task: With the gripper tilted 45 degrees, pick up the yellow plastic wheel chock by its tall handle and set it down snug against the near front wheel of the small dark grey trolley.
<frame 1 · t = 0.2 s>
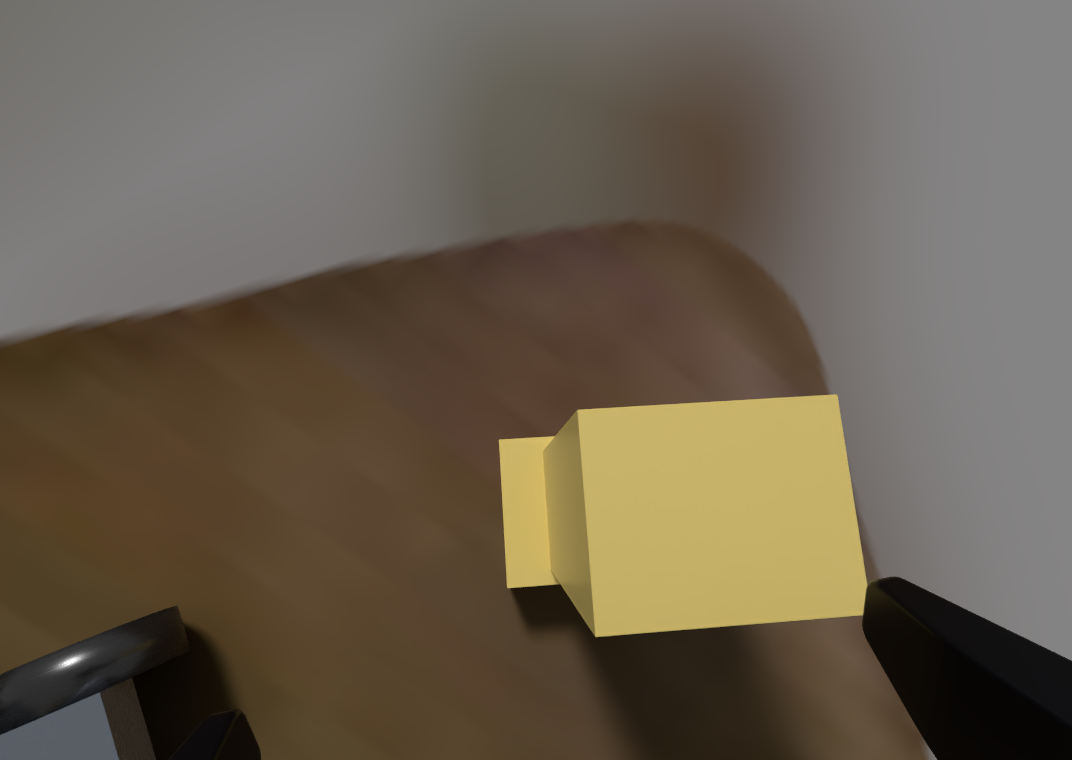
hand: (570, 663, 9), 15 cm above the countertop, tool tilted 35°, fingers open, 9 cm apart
chock: (608, 503, 24), on the countertop
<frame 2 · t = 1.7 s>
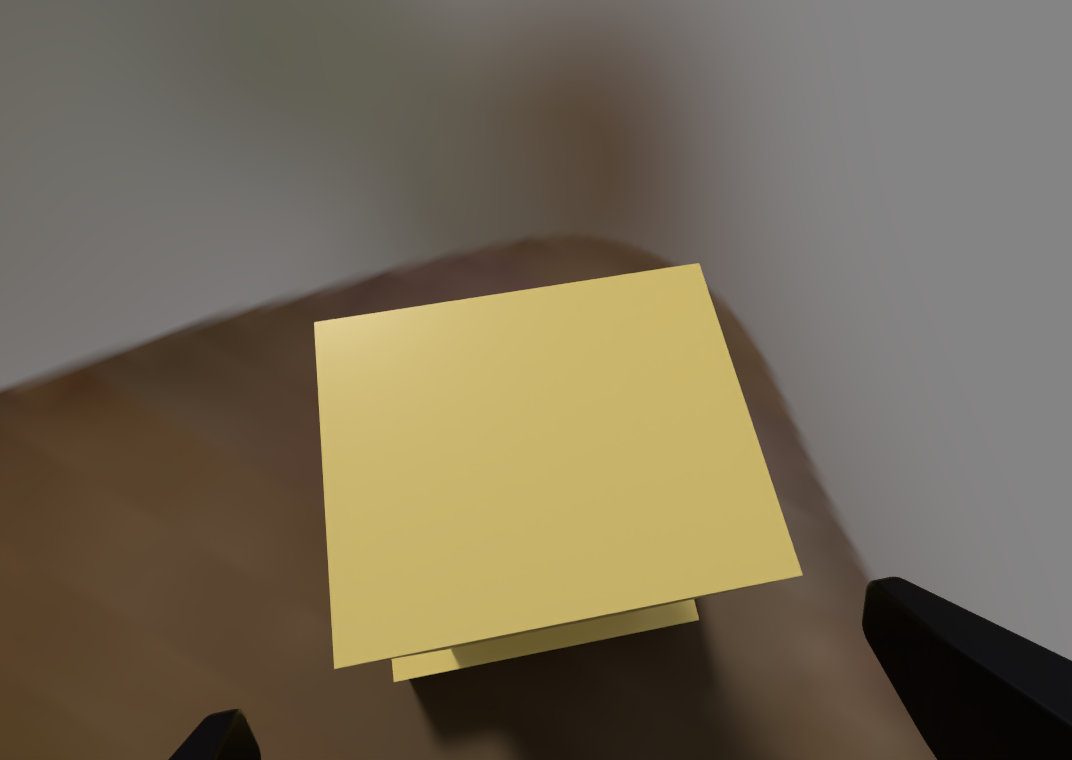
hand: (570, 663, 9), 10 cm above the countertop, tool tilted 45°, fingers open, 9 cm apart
chock: (531, 560, 19), on the countertop
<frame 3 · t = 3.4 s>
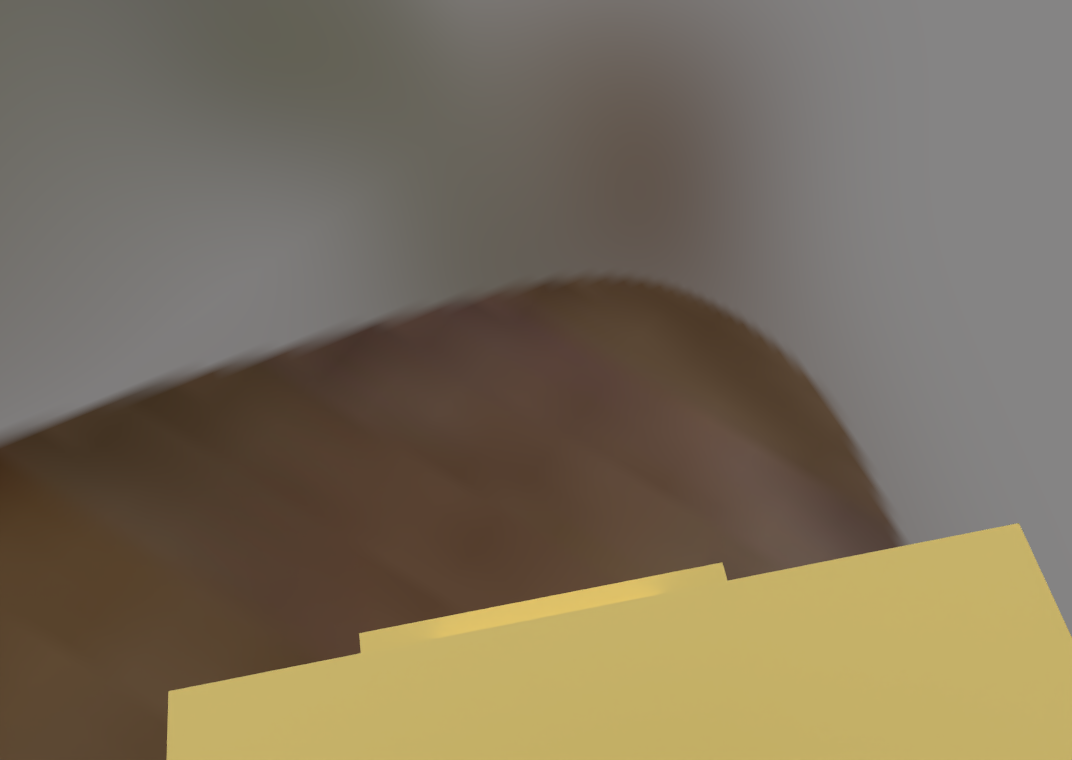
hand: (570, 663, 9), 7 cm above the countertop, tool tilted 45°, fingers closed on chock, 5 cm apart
chock: (562, 713, 14), on the countertop, touching gripper
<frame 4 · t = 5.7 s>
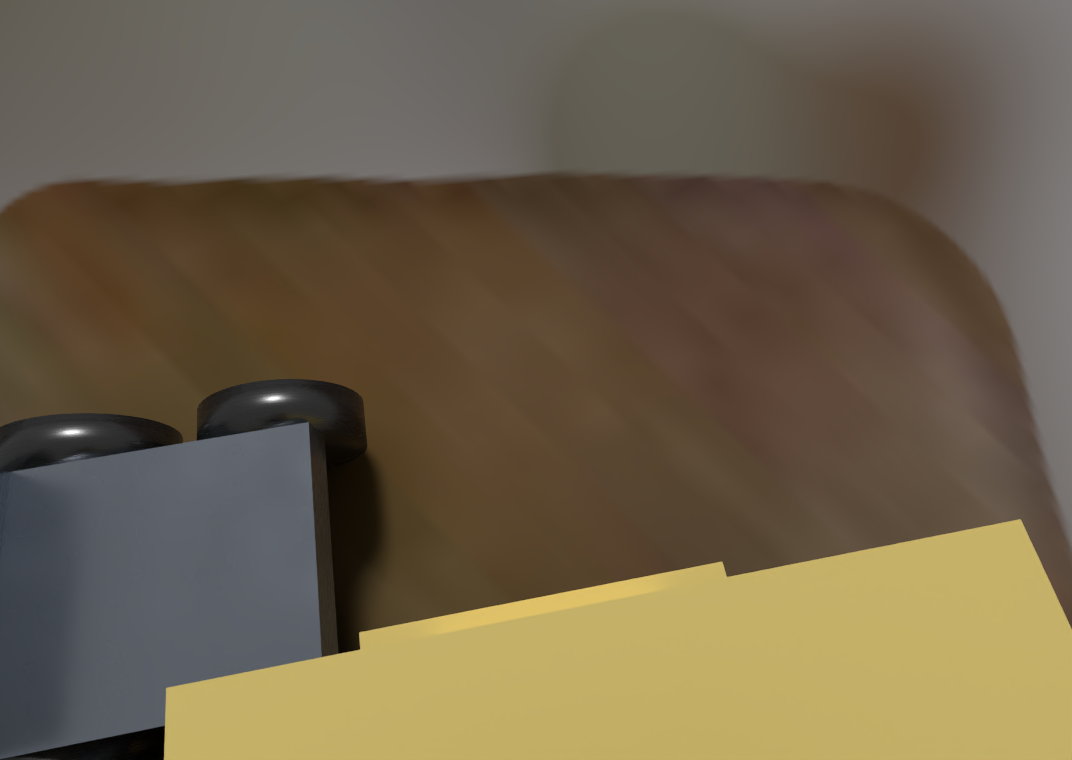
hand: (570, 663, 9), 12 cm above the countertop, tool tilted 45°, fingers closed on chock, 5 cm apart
chock: (562, 712, 14), point 6 cm above the countertop, touching gripper
trolley: (225, 590, 21), on the countertop
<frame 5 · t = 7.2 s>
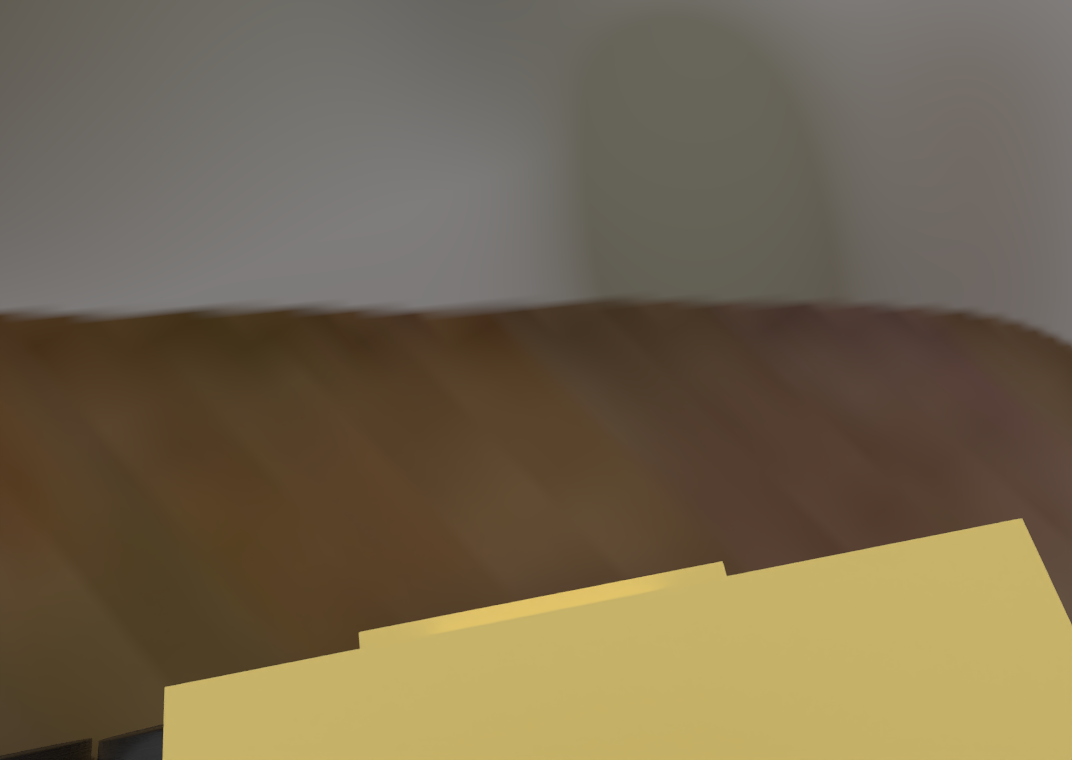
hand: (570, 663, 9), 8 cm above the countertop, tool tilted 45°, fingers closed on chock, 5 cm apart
chock: (562, 712, 14), point 2 cm above the countertop, touching gripper
when the fingers open (8 cm above the countertop, at t = 8.2 s): chock drops 1 cm, on the countertop.
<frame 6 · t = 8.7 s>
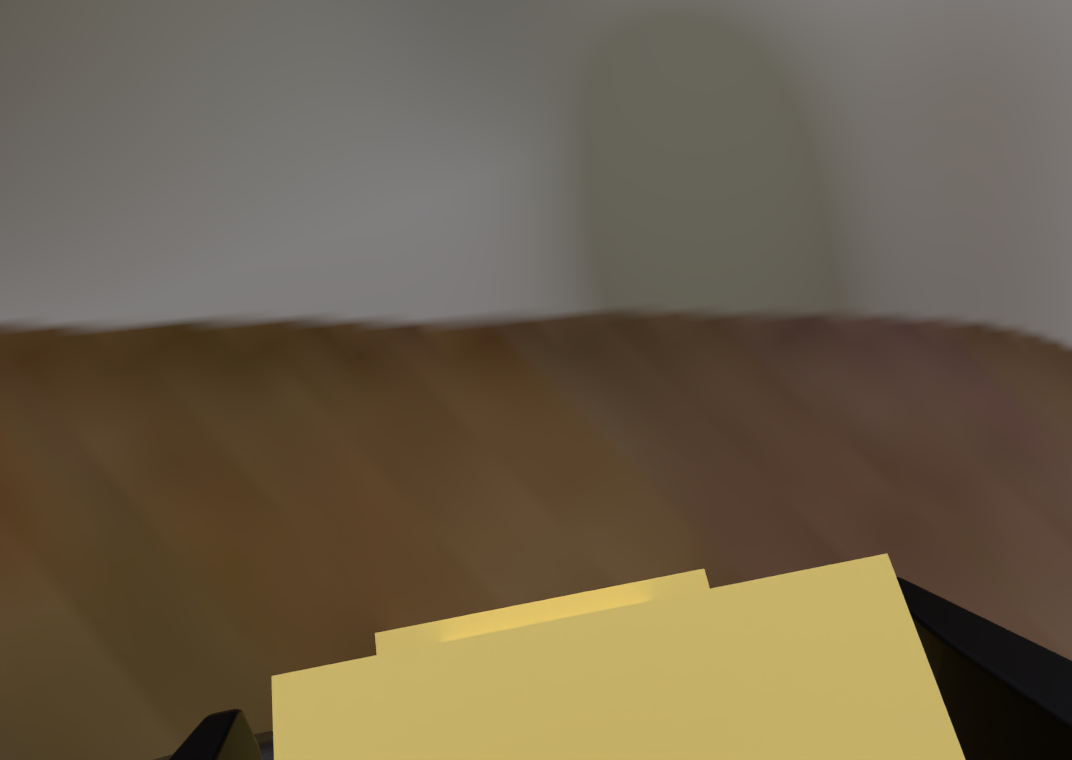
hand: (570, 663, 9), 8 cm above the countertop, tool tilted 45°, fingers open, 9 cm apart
chock: (559, 705, 16), on the countertop
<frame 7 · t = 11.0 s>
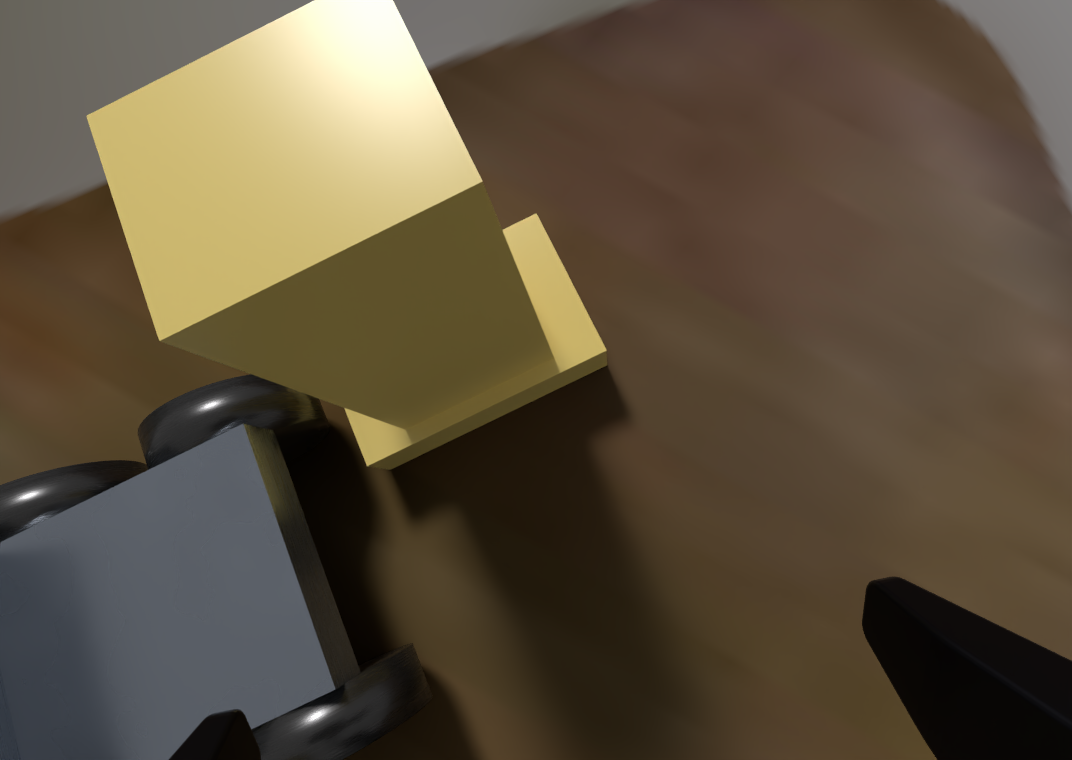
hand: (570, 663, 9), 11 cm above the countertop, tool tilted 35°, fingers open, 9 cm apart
chock: (468, 352, 21), on the countertop
trolley: (242, 597, 20), on the countertop
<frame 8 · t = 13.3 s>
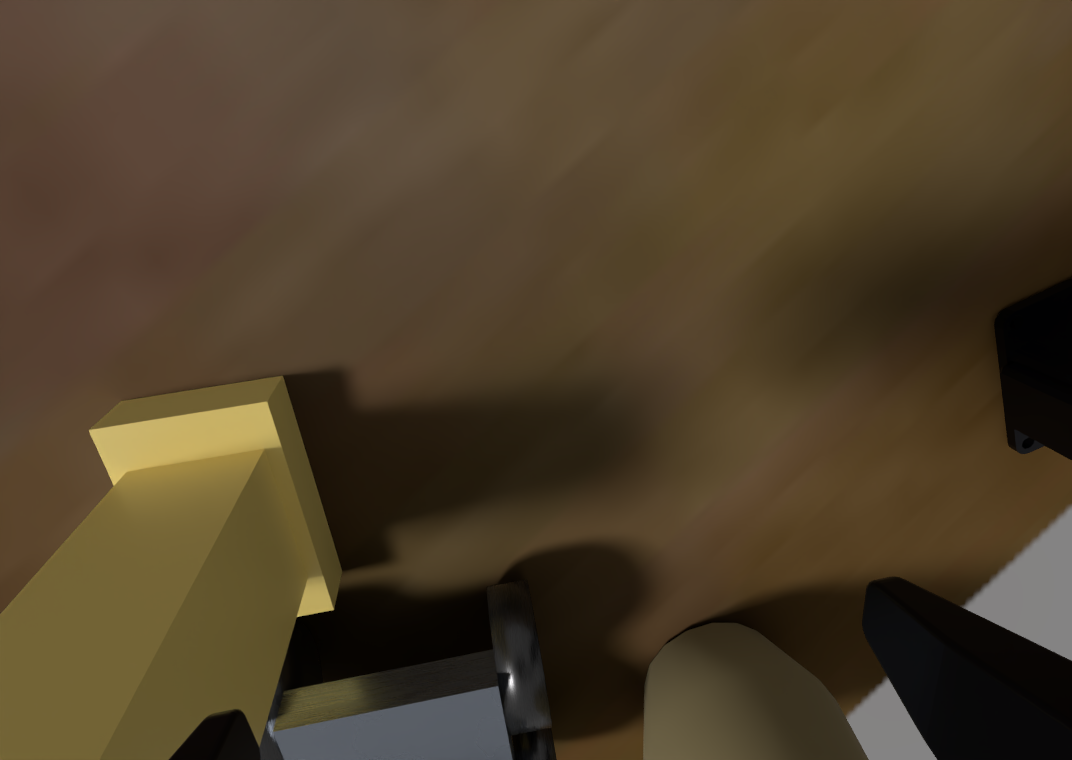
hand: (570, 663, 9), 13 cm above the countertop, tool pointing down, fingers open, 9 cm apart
chock: (241, 493, 21), on the countertop
squeeze bottle: (704, 665, 28), on the countertop
trolley: (419, 680, 26), on the countertop
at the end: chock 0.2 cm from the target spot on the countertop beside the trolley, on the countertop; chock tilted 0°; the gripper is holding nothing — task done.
